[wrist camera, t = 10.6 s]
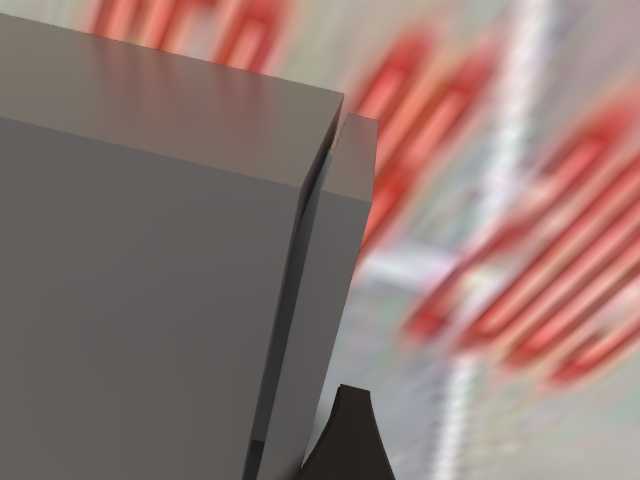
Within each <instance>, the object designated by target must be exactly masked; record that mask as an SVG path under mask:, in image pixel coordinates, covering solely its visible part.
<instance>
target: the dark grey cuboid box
mask: <svg viewBox="0 0 640 480" xmlns="http://www.w3.org/2000/svg"><path fill="white" fill-rule="evenodd" d="M343 98H344V94H343V93H339V92H335V91H331V90H326V89H322V88H318V87H313V86H309V85H305V84H301V83H296V82H292V81H288V80H284V79H279V78H275V77H271V76H266V75H262V74H258V73H254V72H249V71H245V70H241V69H236V68H232V67H228V66H224V65H219V64H215V63H211V62H207V61H202V60H198V59H194V58H189V57H185V56H181V55H177V54H172V53H168V52H164V51H160V50H155V49H151V48H147V47H142V46H138V45H134V44H130V43H125V42H121V41H117V40H113V39H108V38H104V37H100V36H95V35H91V34H87V33H83V32H78V31H74V30H70V29H66V28H61V27H57V26H53V25H48V24H44V23H40V22H36V21H31V20H27V19H23V18H18V17H14V16H10V15H6V14H1V13H0V480H257V477H258V473H259V468H260V463H261V459H262V454H263V450H264V445H265V442H261V441H257V440H253V439H252V438H253V433H254V428H255V423H256V418H257V413H258V408H259V404H260V399H261V394H262V389H263V384H264V379H265V374H266V370H267V365H268V360H269V355H270V350H271V345H272V340H273V336H274V331H275V326H276V321H277V316H278V311H279V306H280V302H281V297H282V292H283V287H284V282H285V277H286V272H287V268H288V263H289V258H290V253H291V248H292V243H293V239H294V237H295V234H296V232H297V229H298V227H299V224H300V222H301V219H302V217H303V214H304V212H305V209H306V207H307V204H308V201H309V199H310V196H311V194H312V191H313V189H314V186H315V184H316V181H317V179H318V176H319V174H320V171H321V169H322V166H323V163H324V161H325V158H326V156H327V153H328V151H329V148H330V146H331V143H332V141H333V138H334V136H335V133H336V130H337V125H338V121H339V116H340V112H341V107H342V103H343Z"/></svg>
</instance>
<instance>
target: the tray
mask: <svg viewBox="0 0 640 480" xmlns="http://www.w3.org/2000/svg"><path fill="white" fill-rule="evenodd" d="M378 124H379V120H374V119H370V118H366V117H362V116H357V115H353V114H349V113H348V115H347V118H346V120H345V123H344V126H343V129H342V132H341V135H340V137H339V140H338V143H337V146H336V149H335V150H334V149H329V151H328V153H327V156H326V158H325V161H324V163H323V166H322V169H321V171H320V174H319V176H318V179H317V181H316V184H315V186H314V189H313V191H312V194H311V196H310V199H309V201H308V204H307V207H306V209H305V212H304V214H303V217H302V219H301V222H300V224H299V227H298V229H297V232H296V234H295V237H294V239H293V243H292V248H291V253H290V258H289V263H288V268H287V272H286V277H285V282H284V287H283V292H282V297H281V302H280V306H279V311H278V316H277V321H276V326H275V331H274V336H273V340H272V345H271V350H270V355H269V360H268V365H267V370H266V374H265V379H264V384H263V389H262V394H261V399H260V404H259V408H258V413H257V418H256V423H255V428H254V433H253V438H252V439H253V440H257V441H261V442H265V445H264V450H263V454H262V459H261V463H260V468H259V473H258V477H257V480H294V479H295V477H296V476H297V475H298V473H299V471H300V470H301V466H302V462H303V459H304V455H305V451H306V447H307V444H308V440H309V436H310V432H311V429H312V425H313V421H314V417H315V414H316V410H317V406H318V402H319V399H320V395H321V391H322V388H323V384H324V380H325V376H326V373H327V369H328V365H329V361H330V358H331V354H332V350H333V346H334V343H335V339H336V335H337V331H338V328H339V324H340V320H341V317H342V313H343V309H344V305H345V302H346V298H347V294H348V290H349V287H350V283H351V279H352V275H353V272H354V268H355V264H356V260H357V257H358V253H359V249H360V246H361V242H362V238H363V234H364V231H365V227H366V223H367V219H368V216H369V212H370V208H371V204H372V197H373V185H374V173H375V161H376V148H377V136H378Z"/></svg>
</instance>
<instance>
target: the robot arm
mask: <svg viewBox="0 0 640 480" xmlns="http://www.w3.org/2000/svg"><path fill="white" fill-rule="evenodd" d="M294 480H396V479H395V477H394V474H393V472H392V469H391V466H390V463H389V461H388V458H387V455H386V452H385V450H384V447H383V444H382V441H381V437H380V434H379V431H378V427H377V424H376V420H375V417H374V413H373V408H372V404H371V398H370V391H368V390H364V389H360V388H356V387H351V386H347V385H343V384H340V387H338V390H337V393H336V397H335V400H334V404H333V407H332V411H331V415H330V418H329V420H328V422H327V424H326V426H325V428H324V430H323V432H322V434H321V436H320V438H319V440H318V442H317V444H316V446H315V447H314V449H313V451H312V452H311V454H310V456H309V457H308V459H307V460H306V462H305V463H304V465H303V467H302V468H301V470H300V471H299V473H298V475H297V476H296V477H295V479H294Z"/></svg>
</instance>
